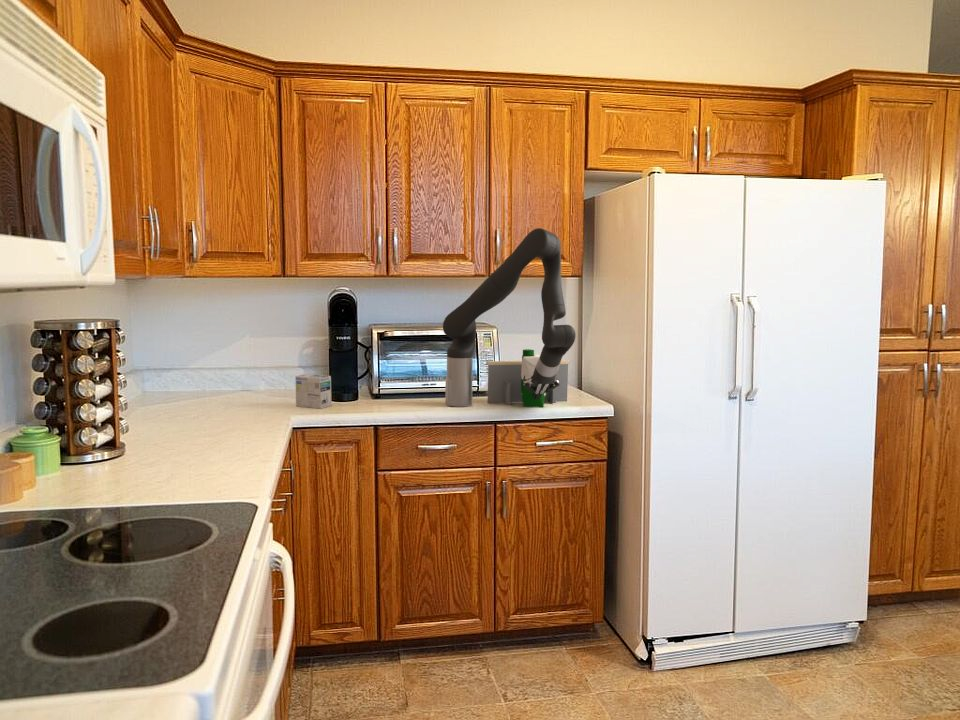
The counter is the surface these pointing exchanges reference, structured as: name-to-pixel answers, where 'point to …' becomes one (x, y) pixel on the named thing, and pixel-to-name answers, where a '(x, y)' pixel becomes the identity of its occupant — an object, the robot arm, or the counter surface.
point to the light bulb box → (313, 391)
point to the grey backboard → (508, 382)
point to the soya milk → (526, 372)
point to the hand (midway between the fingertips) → (536, 397)
